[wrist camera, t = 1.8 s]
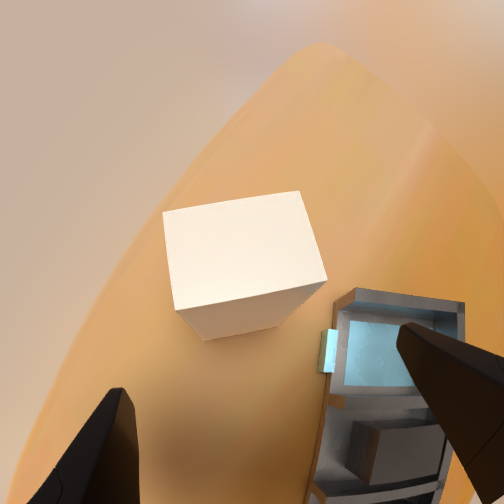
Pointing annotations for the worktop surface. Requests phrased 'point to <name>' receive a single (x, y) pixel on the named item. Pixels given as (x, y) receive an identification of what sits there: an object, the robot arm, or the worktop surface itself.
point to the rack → (379, 405)
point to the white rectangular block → (241, 263)
